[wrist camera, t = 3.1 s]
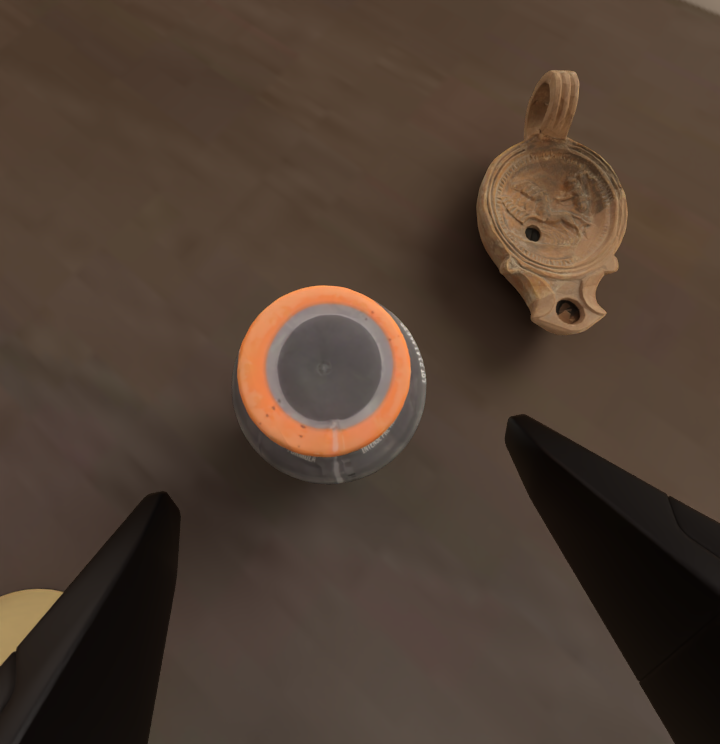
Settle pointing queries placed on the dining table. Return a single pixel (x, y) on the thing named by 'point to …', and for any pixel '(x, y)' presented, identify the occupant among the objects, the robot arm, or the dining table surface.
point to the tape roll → (22, 616)
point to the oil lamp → (553, 213)
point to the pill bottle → (328, 385)
